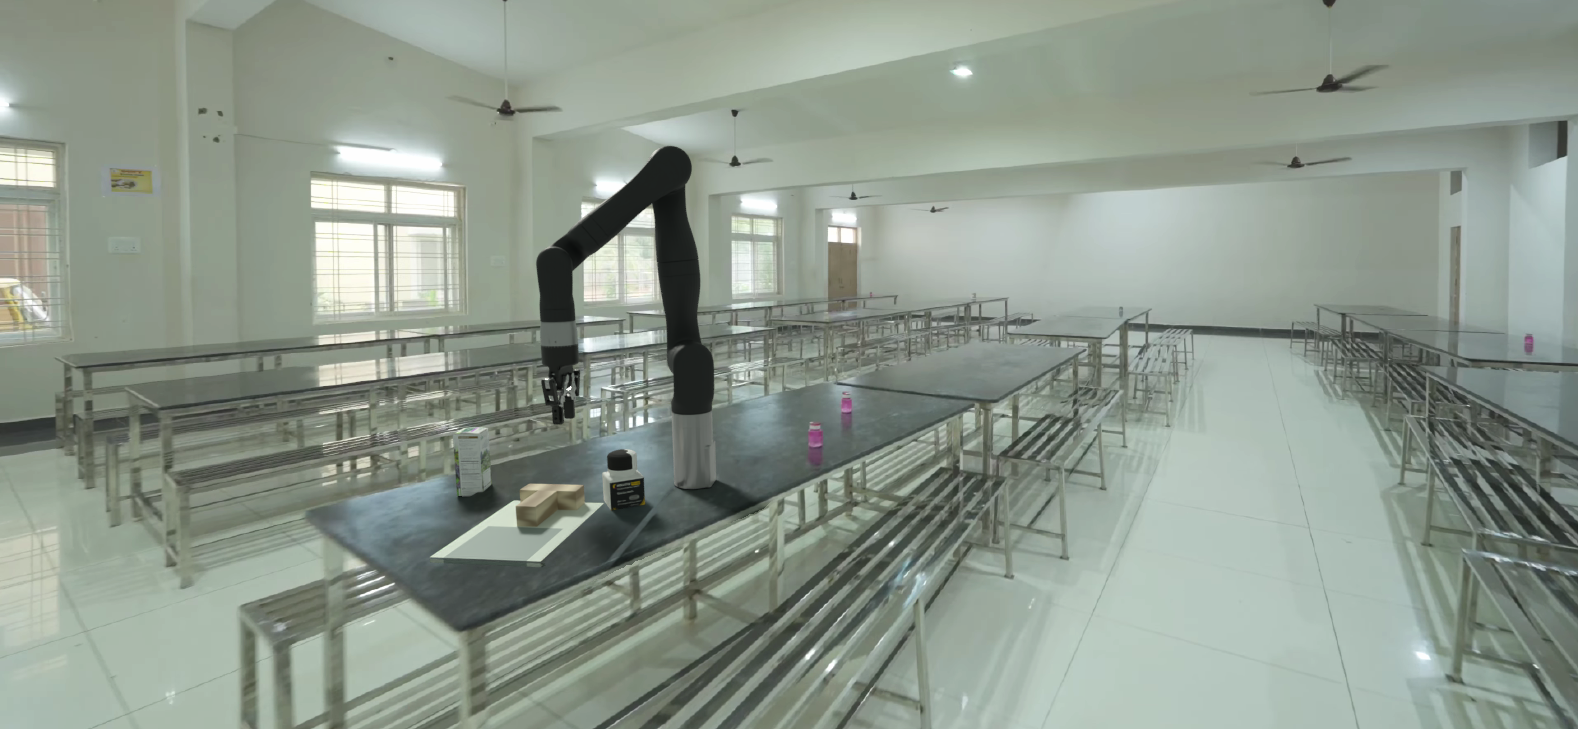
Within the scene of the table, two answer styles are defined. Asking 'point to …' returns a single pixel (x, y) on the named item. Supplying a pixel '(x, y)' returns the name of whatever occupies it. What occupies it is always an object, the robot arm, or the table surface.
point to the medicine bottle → (623, 480)
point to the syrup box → (472, 460)
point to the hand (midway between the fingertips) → (564, 420)
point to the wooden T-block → (546, 502)
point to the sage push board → (514, 538)
